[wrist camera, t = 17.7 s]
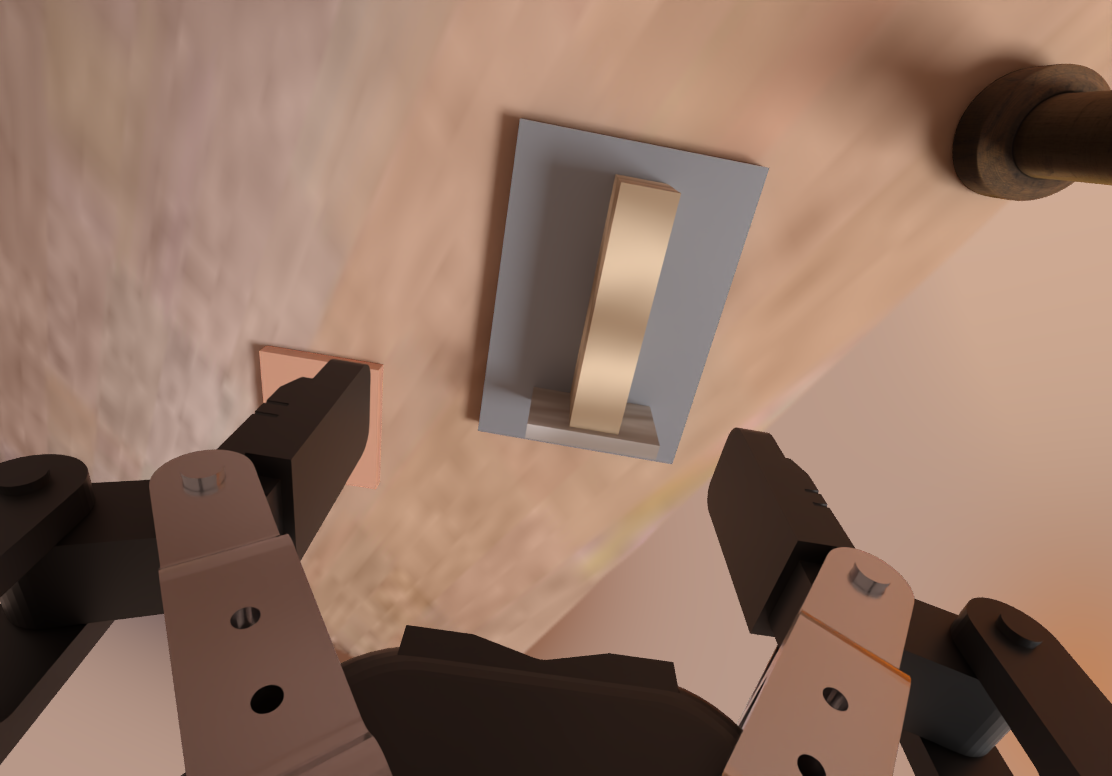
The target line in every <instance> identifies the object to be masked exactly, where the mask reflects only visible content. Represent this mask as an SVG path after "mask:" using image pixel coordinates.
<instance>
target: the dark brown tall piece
mask: <svg viewBox="0 0 1112 776" xmlns="http://www.w3.org/2000/svg"><path fill="white" fill-rule="evenodd" d="M953 162H954V167H955V170H956V173H957V175H958V177H959V178H960V180H961V181H962V182H963V183H964V185H965V186H967V187H968V188H969V189H971V190H972V191H974V192H976V193H978V194H981V195H984V196H989V197H994V198H1001V199H1007V200H1015V201H1026V200H1035V199H1040V198H1043V197H1047V196H1050V195H1052V194H1054V193H1057V192H1059V191H1060V190H1063V189H1064V188H1066V187H1068V186H1069V185H1071V184H1072V183H1073V182H1085V183H1095V184H1104V185H1112V90H1110V87H1109V85H1108V84H1107V83H1106V81H1105V80H1104V79H1103V77H1102V76H1100V75H1099V74H1098V73H1097V72H1095V71H1094V70H1092V69H1090V68H1087V67H1085V66H1081V65H1076V64H1056V65H1047V66H1038V67H1030V68H1025V69H1021V70H1018V71H1015V72H1012V73H1010V74H1007V75H1005V76H1003V77H1001V78H1000V79H998V80H996V81H995V82H993V83H992V84H991V85H989V86H988V87H987V88H985V89H984V90H983V91H982V92H981V93H980V94H979V95H978V96H977V97H976V98H975V99H974V100H973V102H972V103H971V104H970V105H969V107H968V108H967V110H966V111H965V113H964V114H963V116H962V118H961V120H960V122H959V124H958V127H957V130H956V133H955V137H954V142H953Z"/></svg>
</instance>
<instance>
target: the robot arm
mask: <svg viewBox="0 0 1112 776" xmlns="http://www.w3.org/2000/svg"><path fill="white" fill-rule="evenodd" d="M370 385H371V372H370V367H369V365H367V364H362V363H356V362H350V361H344V360H338V359H331V360H329V361H328V362H327V364H326V365H325V366H324V367H323V368H322V369H321V370H320V371H319V372H318V373H317V374H316V375H315V377H314V378H307V377H300V378H298V379H296V380H293V381H291V382H289V383H287V384H285V385H282V386H280V387H279V388H278V389H277V390H276V391H275V392H274V393H273V394H272V395H271V396H270V397H269V398H268V399H267V401H266V403H263V404H262V405H261V406H260V407H259V408H258V409H257V410H256V411H255V414H252V415H251V416H250V417H249V418H248V419H247V420H246V421H245V422H244V423H243V424H242V425H241V426H240V427H239V428H238V429H237V430H236V431H235V432H234V433H233V434H232V435H231V436H230V437H229V438H228V439H227V440H226V441H225V442H224V443H223V444H222V445H221V446H220V447H219V448H218V449H217V450H203V451H196V452H192V453H188V454H185V455H182V456H179V457H177V458H174V459H172V460H170V461H168V462H167V463H165V464H164V465H162V466H161V467H159V468H158V469H157V470H156V471H155V472H154V474H153V475H152V477H151V479H150V480H140V481H121V482H102V483H91V480H90V476H89V472H88V469H87V467H86V465H85V464H84V463H83V462H82V461H80V460H78V459H77V458H74V457H70V456H65V455H56V454H42V455H32V456H26V457H20V458H16V459H12V460H8V461H5V462H2V463H0V602H1V604H0V764H1V763H2V762H3V761H4V759H5V758H6V757H7V755H8V754H9V753H10V752H11V751H12V749H13V748H14V747H15V746H16V744H17V743H18V742H19V740H20V739H21V738H22V737H23V735H24V734H25V733H26V732H27V730H28V729H29V728H30V727H31V725H32V724H33V723H34V722H35V720H36V719H37V718H38V716H39V715H40V714H41V713H42V711H43V710H44V709H45V708H46V706H47V705H48V704H49V703H50V701H51V700H52V699H53V698H54V696H55V695H56V694H57V692H58V691H59V690H60V689H61V687H62V686H63V685H64V683H65V682H66V681H67V680H68V678H69V677H70V676H71V675H72V673H73V672H74V671H75V670H76V668H77V667H78V666H79V665H80V663H81V662H82V661H83V659H84V658H85V657H86V656H87V655H88V653H89V652H90V651H91V649H92V648H93V647H94V646H95V644H96V643H97V642H98V640H99V639H100V638H101V637H102V636H103V634H104V633H105V632H106V631H107V629H108V628H109V627H110V625H111V624H112V623H113V622H114V620H118V619H126V618H134V617H142V616H150V615H157V614H164V617H165V624H166V631H167V638H168V646H169V653H170V661H171V667H172V675H173V683H174V690H175V697H176V705H177V712H178V720H179V727H180V734H181V742H182V749H183V756H184V764H185V771H186V772H185V773H184V774H183V775H181V776H893V772H894V767H895V762H896V757H897V752H898V747H899V742H900V743H901V746H902V748H903V750H904V752H905V754H906V756H907V759H908V761H909V763H910V765H911V767H912V769H913V772H914V774H915V776H1013V774H1012V772H1011V771H1010V769H1009V767H1008V766H1007V764H1006V762H1005V761H1004V759H1003V758H1002V756H1001V754H1000V753H999V751H998V749H997V748H996V746H995V745H996V744H997V743H998V742H999V741H1000V740H1001V739H1002V738H1003V737H1004V736H1005V735H1006V734H1007V733H1008V732H1009V731H1010V730H1012V732H1013V733H1014V735H1015V737H1016V738H1017V740H1018V741H1019V743H1020V744H1021V746H1022V747H1023V749H1024V750H1025V752H1026V753H1027V755H1028V757H1029V758H1030V760H1031V761H1032V763H1033V764H1034V766H1035V767H1036V769H1037V771H1038V773H1039V775H1040V776H1112V704H1111V703H1110V701H1109V700H1108V699H1107V698H1106V697H1105V696H1104V695H1103V693H1102V692H1101V691H1100V690H1099V688H1098V687H1097V686H1096V685H1095V684H1094V683H1093V681H1092V680H1091V679H1090V678H1089V677H1088V675H1087V674H1086V673H1085V672H1084V671H1083V670H1082V668H1081V667H1080V666H1079V665H1078V664H1077V662H1076V661H1075V660H1074V659H1073V658H1072V657H1071V656H1070V654H1069V653H1068V652H1067V651H1066V650H1065V648H1064V647H1063V646H1062V645H1061V644H1060V642H1059V641H1058V640H1057V639H1056V638H1055V637H1054V636H1053V635H1052V634H1051V633H1050V632H1049V631H1048V630H1047V629H1045V628H1044V627H1043V626H1042V625H1041V624H1039V623H1038V622H1037V621H1035V620H1034V619H1033V618H1031V617H1030V616H1028V615H1026V614H1025V613H1023V612H1021V611H1020V610H1018V609H1016V608H1014V607H1012V606H1010V605H1008V604H1005V603H1003V602H1000V601H997V600H993V599H989V598H974V599H971V600H970V601H969V602H968V603H967V605H966V606H965V607H964V608H963V610H962V611H961V612H960V614H959V615H956V614H953V613H951V612H948V611H946V610H943V609H940V608H938V607H935V606H932V605H929V604H927V603H924V602H922V601H919V600H916V599H914V594H913V591H912V589H911V587H910V585H909V584H908V582H906V580H905V579H904V578H903V576H902V575H900V573H898V572H897V571H896V570H895V569H894V568H893V567H891V566H890V565H888V564H887V563H886V562H884V561H883V560H881V559H879V558H878V557H876V556H874V555H872V554H870V553H867V552H864V551H862V550H858V549H855V547H854V546H853V544H852V543H851V541H850V539H849V538H848V536H847V535H846V533H845V532H844V530H843V528H842V527H841V525H840V524H839V522H838V520H837V519H836V517H835V516H834V514H833V513H832V511H831V510H830V508H827V503H826V502H825V500H824V499H823V497H822V495H821V494H818V489H817V488H816V486H815V484H814V483H813V481H812V480H811V478H810V477H809V475H808V474H807V473H806V472H805V471H804V470H802V469H801V468H800V467H799V466H798V465H797V464H796V463H794V462H793V461H792V460H791V459H789V458H785V457H784V455H783V453H782V451H781V450H780V448H779V446H778V445H777V443H776V441H775V440H774V438H773V437H772V435H771V434H769V433H765V432H760V431H754V430H748V429H742V428H734V429H733V430H732V431H731V432H730V434H729V436H728V438H727V441H726V443H725V446H724V448H723V451H722V454H721V456H720V459H719V461H718V464H717V466H716V469H715V472H714V474H713V477H712V479H711V482H710V485H709V489H708V498H707V503H708V510H709V513H710V516H711V519H712V522H713V525H714V528H715V531H716V534H717V537H718V540H719V543H720V546H721V549H722V552H723V555H724V558H725V560H726V563H727V567H728V569H729V572H730V575H731V578H732V581H733V584H734V587H735V590H736V593H737V596H738V599H739V602H740V605H741V608H742V611H743V614H744V616H745V620H746V622H747V626H748V629H749V631H750V633H751V634H757V635H765V636H771V637H775V639H776V641H777V644H778V645H777V647H776V649H775V650H774V652H773V654H772V656H771V657H770V659H769V661H768V664H767V665H766V668H765V669H764V672H763V673H762V675H761V677H760V679H759V681H758V683H757V685H756V687H755V689H754V691H753V693H752V695H751V697H750V699H749V701H748V703H747V705H746V707H745V709H744V711H743V713H742V715H741V717H740V719H739V721H738V723H737V724H735V723H734V722H733V721H732V720H731V719H730V718H729V717H728V716H726V715H725V714H724V713H723V712H721V711H720V710H719V709H717V708H716V707H715V706H713V705H712V704H710V703H709V702H707V701H706V700H704V699H703V698H701V697H699V696H697V695H695V694H693V693H692V692H690V691H688V690H686V689H684V688H681V687H679V686H678V685H677V679H676V674H675V669H674V664H673V662H667V661H661V660H653V659H646V658H639V657H631V656H625V655H617V654H611V653H608V654H599V655H589V656H580V657H572V658H571V657H570V658H561V659H553V660H540V659H536V658H533V657H530V656H528V655H525V654H523V653H520V652H518V651H515V650H512V649H510V648H507V647H505V646H502V645H500V644H497V643H494V642H492V641H489V640H487V639H484V638H482V637H479V636H476V635H474V634H467V633H460V632H453V631H446V630H438V629H431V628H424V627H417V626H410V625H406V628H405V631H404V635H403V638H402V641H401V644H400V647H396V648H387V649H383V650H378V651H373V652H369V653H366V654H363V655H360V656H357V657H354V658H352V659H349V660H347V661H345V662H343V663H341V664H340V662H339V659H338V657H337V654H336V652H335V649H334V646H333V644H332V641H331V639H330V636H329V634H328V631H327V629H326V626H325V623H324V621H323V618H322V616H321V613H320V611H319V608H318V606H317V603H316V600H315V598H314V595H313V593H312V590H311V588H310V585H309V583H308V580H307V577H306V575H305V572H304V570H303V567H302V565H301V562H300V561H301V559H302V557H303V556H304V554H305V552H306V551H307V549H308V547H309V545H310V544H311V542H312V540H313V539H314V537H315V535H316V533H317V532H318V530H319V528H320V527H321V525H322V523H323V521H324V520H325V518H326V516H327V515H328V513H329V511H330V509H331V508H332V506H333V504H334V503H335V501H336V499H337V497H338V496H339V494H340V492H341V491H342V489H343V487H344V485H345V484H346V482H347V480H348V479H349V477H350V475H351V473H352V472H353V470H354V468H355V467H356V465H357V463H358V462H359V460H360V458H361V456H362V454H363V452H364V450H365V447H366V444H367V440H368V435H369V425H370Z"/></svg>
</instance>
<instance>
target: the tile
mask: <svg viewBox="0 0 1112 776" xmlns="http://www.w3.org/2000/svg"><path fill="white" fill-rule="evenodd" d="M259 356H260V368H261V380H262V392H263V403H266V401H267V399H268V398H269V397H270V396H271V395H272V394H273V393H274V392H275V391H276V390H277V389H278V388H279V387H280V386H282V385H285V384H287V383H289V382H291V381H293V380H296V379H298V378H300V377H307V378H314V377H315V375H316V374H317V373H318V372H319V371H320V370H321V369H322V368H323V367H324V366H325V365H326V364H327V362H328V361H329V360H331V359H338V360H344V361H350V362H356V363H362V364H367V365H369V367H370V372H371V385H370V425H369V435H368V440H367V444H366V447H365V450H364V452H363V454H362V456H361V458H360V460H359V462H358V463H357V465H356V467H355V468H354V470H353V472H352V473H351V475H350V477H349V479H348V480H347V482H346V485H352V486H359V487H365V488H372V489H376V488H377V486H378V484H379V482H380V460H381V426H382V391H383V364H377V363H371V362H365V361H359V360H353V359H346V358H340V357H334V356H328V355H322V354H316V353H310V352H304V351H298V350H292V349H286V348H280V347H274V346H268V345H266V346H265V347H264V348H262V349H261V350H260V351H259Z"/></svg>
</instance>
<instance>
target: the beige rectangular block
mask: <svg viewBox="0 0 1112 776" xmlns="http://www.w3.org/2000/svg"><path fill="white" fill-rule="evenodd" d="M680 196H681V193H680V192H678V191H677V190H675V189H674V188H673V187H671V186H670V185H668V184H665V183H660V182H655V181H649V180H644V179H639V178H634V177H628V176H623V175H618V174H615V179H614V184H613V189H612V193H611V198H610V203H609V208H608V213H607V218H606V222H605V227H604V232H603V237H602V242H601V247H600V251H599V256H598V261H597V266H596V271H595V276H594V280H593V285H592V290H591V295H590V300H589V305H588V309H587V314H586V319H585V324H584V329H583V334H582V338H581V343H580V348H579V353H578V358H577V363H576V367H575V372H574V377H573V382H572V387H571V392H570V393H567V392H561V391H556V390H550V389H544V388H538V387H533V393H532V399H531V405H530V411H529V417H528V423H527V429H526V435H525V438H528V439H534V440H540V441H546V442H552V443H558V444H564V445H570V446H576V447H582V448H588V449H594V450H600V451H606V452H612V453H618V454H624V455H630V456H636V457H642V458H648V459H654V460H656V457H657V454H658V451H659V447H660V444H659V440H658V436H657V432H656V428H655V425H654V421H653V417H652V413H651V409H650V407H649V406H643V405H637V404H632V403H627V399H628V396H629V392H630V388H631V384H632V380H633V376H634V373H635V369H636V365H637V361H638V357H639V353H640V349H641V346H642V342H643V338H644V334H645V330H646V326H647V323H648V319H649V315H650V311H651V307H652V303H653V300H654V296H655V292H656V288H657V284H658V280H659V277H660V273H661V269H662V265H663V261H664V257H665V254H666V250H667V246H668V242H669V238H670V234H671V230H672V227H673V223H674V219H675V215H676V211H677V207H678V204H679V200H680Z"/></svg>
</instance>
